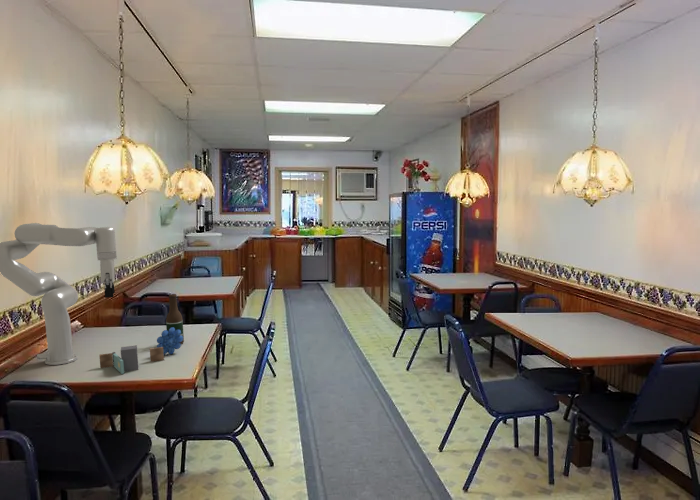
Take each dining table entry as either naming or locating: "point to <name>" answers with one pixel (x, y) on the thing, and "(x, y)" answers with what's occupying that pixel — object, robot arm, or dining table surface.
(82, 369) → the dining table surface
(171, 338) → the grapes
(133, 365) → the doorstop block
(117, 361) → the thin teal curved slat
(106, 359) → the brown wooden block
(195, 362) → the dining table surface
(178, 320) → the beer bottle
